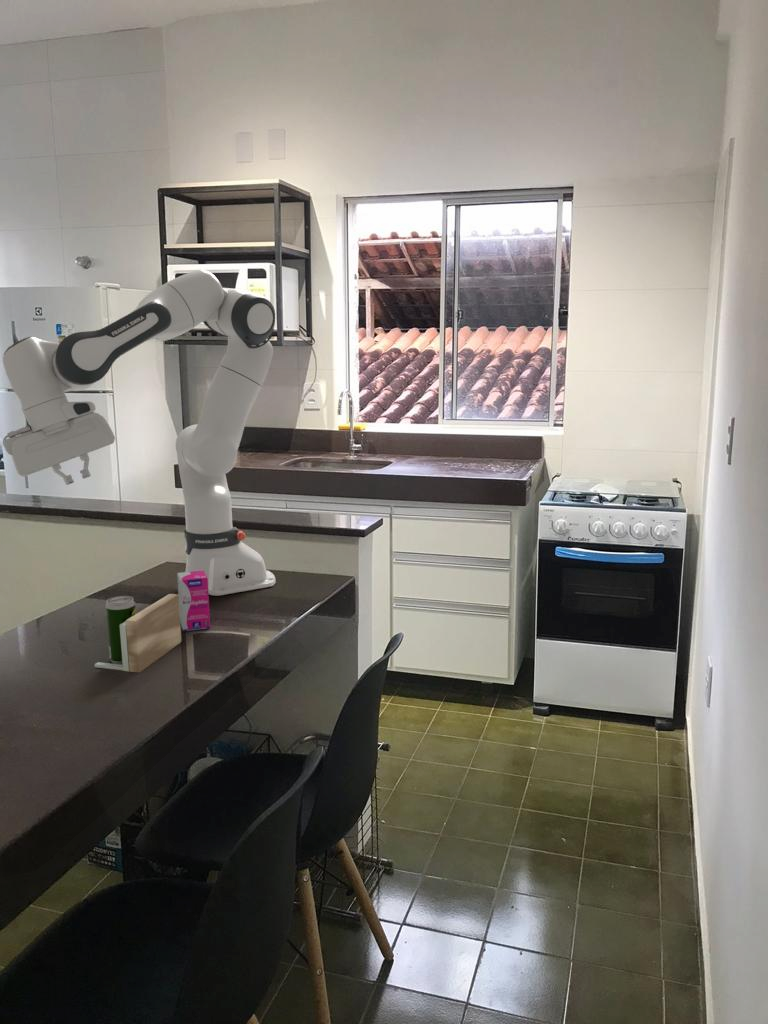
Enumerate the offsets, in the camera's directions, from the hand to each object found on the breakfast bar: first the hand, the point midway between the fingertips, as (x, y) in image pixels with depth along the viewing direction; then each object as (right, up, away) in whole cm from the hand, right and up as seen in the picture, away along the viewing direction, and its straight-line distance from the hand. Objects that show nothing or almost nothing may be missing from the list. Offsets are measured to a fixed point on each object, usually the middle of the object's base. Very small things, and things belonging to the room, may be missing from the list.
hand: (78, 480), depth 174 cm
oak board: (+19, -34, -11) cm, 41 cm away
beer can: (+13, -35, -13) cm, 39 cm away
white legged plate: (+13, -35, -13) cm, 39 cm away
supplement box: (+23, -31, +5) cm, 39 cm away
